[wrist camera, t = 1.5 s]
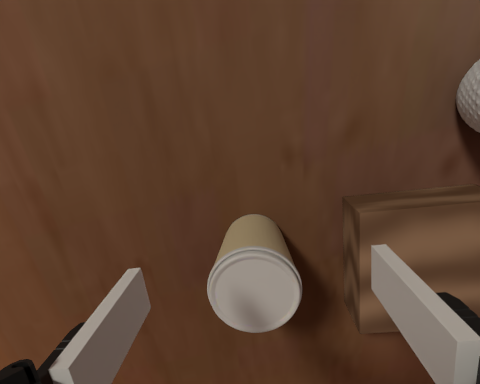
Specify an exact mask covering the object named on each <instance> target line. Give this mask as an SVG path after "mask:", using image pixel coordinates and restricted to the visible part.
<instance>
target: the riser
mask: <svg viewBox="0 0 480 384" xmlns="http://www.w3.org/2000/svg"><path fill="white" fill-rule="evenodd" d="M382 244H386V245H387V246H388V247H389V248H390V249H391V250H392V251H393V252H394V253H395V254H396V255H397V256H398V257H399V258H400V259H401V260H402V261H403V262H404V263H405V264H406V265H407V266H408V267H409V268H410V269H411V270H412V271H413V272H414V273H415V274H416V275H417V276H419V277H420V278H421V279H422V280H423V281H424V282H425V283H426V284H427V285H428V286H429V287H430V288H431V289H432V290H433V291H434V292H435V293H439V292H447V293H449V294H451V295H453V296H455V297H456V298H458V299H460V300H461V301H462V302H463V303H464V304H465V305H467V306H468V307H469V308H470V310H472V311H473V312H474V313H475V314H477V315H478V317H479V318H480V186H477V185H474V184H470V185H460V186H450V187H439V188H429V189H419V190H408V191H398V192H388V193H378V194H367V195H357V196H347V197H343V253H344V302H345V304H346V306H347V308H348V311H349V313H350V315H351V317H352V319H353V321H354V323H355V325H356V327H357V329H358V331H359V333H360V334H366V333H383V332H400V330H399V329H398V327H397V326H396V324H395V323H394V321H393V320H392V318H391V317H390V316H389V314H388V313H387V311H386V310H385V308H384V307H383V305H382V304H381V302H380V301H379V299H378V298H377V296H376V295H375V293H374V292H373V290H372V289H371V246H372V245H382Z"/></svg>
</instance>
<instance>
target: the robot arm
mask: <svg viewBox="0 0 480 384" xmlns="http://www.w3.org/2000/svg"><path fill="white" fill-rule="evenodd" d="M371 289H372V290H373V292H374V293H375V295H376V296H377V298H378V299H379V301H380V302H381V304H382V305H383V307H384V308H385V310H386V311H387V313H388V314H389V316H390V317H391V318H392V320H393V321H394V323H395V324H396V326H397V327H398V329H399V330H400V332H401V333H402V335H403V336H404V338H405V339H406V341H407V342H408V344H409V345H410V347H411V348H412V350H413V351H414V352H415V354H416V355H417V357H418V358H419V360H420V361H421V363H422V364H423V366H424V367H425V369H426V370H427V372H428V373H429V375H430V376H431V378H432V379H433V381H434V382H435V384H480V318H479V317H478V315H477V314H475V313H474V312H473V311H472V310H470V308H469V307H468V306H467V305H465V304H464V303H463V302H462V301H461V300H460V299H458V298H456V297H455V296H453V295H451V294H449V293H447V292H439V293H435V292H434V291H433V290H432V289H431V288H430V287H429V286H428V285H427V284H426V283H425V282H424V281H423V280H422V279H421V278H420V277H419V276H417V275H416V274H415V273H414V272H413V271H412V270H411V269H410V268H409V267H408V266H407V265H406V264H405V263H404V262H403V261H402V260H401V259H400V258H399V257H398V256H397V255H396V254H395V253H394V252H393V251H392V250H391V249H390V248H389V247H388V246H387V245H386V244H382V245H372V246H371ZM150 308H151V306H150V302H149V298H148V294H147V290H146V286H145V282H144V278H143V275H142V271H141V268H134V269H128V270H127V271H126V272H125V274H124V275H123V276H122V277H121V279H120V280H119V281H118V282H117V284H116V285H115V286H114V287H113V289H112V290H111V291H110V293H109V294H108V295H107V296H106V298H105V299H104V300H103V301H102V303H101V304H100V305H99V306H98V308H97V309H96V310H95V311H94V313H93V314H92V315H91V316H90V318H89V319H88V320H87V321H86V322H83V323H80V324H78V325H77V326H76V327H75V328H73V329H72V330H71V331H70V332H69V333H68V334H67V335H66V336H65V338H64V339H63V340H62V342H60V344H59V345H58V346H57V347H56V350H54V351H53V352H52V353H51V354H50V356H49V357H48V358H47V359H46V360H45V362H44V363H43V364H42V365H41V366H40V368H39V369H38V370H37V371H36V369H35V366H34V364H33V362H32V360H29V359H24V360H19V361H17V362H14V363H12V364H10V365H8V366H7V367H5V368H3V369H2V370H1V371H0V384H111V383H112V381H113V379H114V378H115V376H116V374H117V372H118V370H119V368H120V366H121V364H122V362H123V360H124V358H125V356H126V355H127V353H128V351H129V349H130V347H131V345H132V343H133V341H134V339H135V337H136V335H137V333H138V331H139V330H140V328H141V326H142V324H143V322H144V320H145V318H146V316H147V314H148V312H149V310H150Z"/></svg>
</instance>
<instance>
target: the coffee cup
mask: <svg viewBox="0 0 480 384" xmlns="http://www.w3.org/2000/svg"><path fill="white" fill-rule="evenodd" d="M207 293H208V298H209V301H210V303H211V305H212V307H213V309H214V311H215V313H216V314H217V315H218V316H219V318H220V319H221V320H223V321H224V322H225V323H226V324H228V325H229V326H231V327H233V328H235V329H238V330H241V331H245V332H253V333H258V332H266V331H270V330H273V329H276V328H278V327H280V326H281V325H283V324H284V323H286V322H287V321H288V320H289V319H290V318H291V317H292V316H293V314H294V313H295V311H296V310H297V307H298V306H299V303H300V301H301V297H302V282H301V278H300V275H299V273H298V271H297V269H296V267H295V265H294V263H293V260H292V258H291V255H290V253H289V250H288V248H287V245H286V243H285V241H284V238H283V236H282V233H281V231H280V229H279V228H278V226H277V225H276V224H275V223H274V222H273V221H272V220H271V219H269V218H267V217H265V216H262V215H257V214H251V215H246V216H243V217H241V218H239V219H237V220H236V221H235V222H234V223H233V224H232V225H231V226H230V228H229V229H228V231H227V234H226V236H225V239H224V241H223V244H222V246H221V249H220V251H219V254H218V257H217V259H216V262H215V265H214V267H213V268H212V270H211V273H210V275H209V278H208V283H207Z"/></svg>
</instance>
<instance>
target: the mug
mask: <svg viewBox="0 0 480 384" xmlns="http://www.w3.org/2000/svg"><path fill="white" fill-rule="evenodd" d="M456 105H457V109H458V112H459V114H460V116H461V117H462V119H463V120H464V121H465V123H466V124H468V125H469V126H470V127H471V128H473V129H474V130H475V131H477V132H479V133H480V59H479V60H478V61H477V62H476V63H475V64H474V65H473V66H472V67H471V69H470V70H469V71H468V72H467V73H466V75H465V76H464V78H463V79H462V81H461V83H460V85H459V87H458V90H457V95H456Z"/></svg>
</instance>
